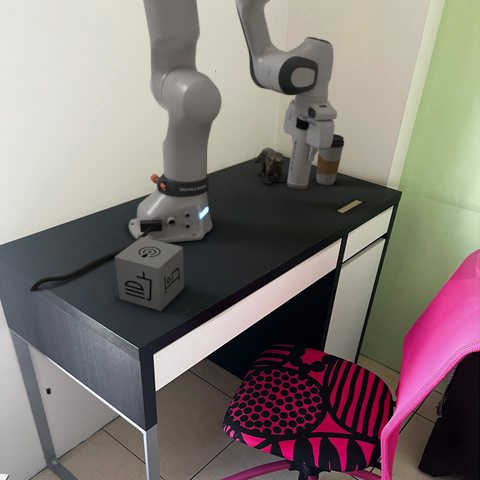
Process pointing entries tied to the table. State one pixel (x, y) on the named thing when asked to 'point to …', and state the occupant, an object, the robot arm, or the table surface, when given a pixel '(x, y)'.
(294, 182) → the travel mug
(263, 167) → the toy dinosaur
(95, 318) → the table surface
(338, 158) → the coffee cup
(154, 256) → the icon cube
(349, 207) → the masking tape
